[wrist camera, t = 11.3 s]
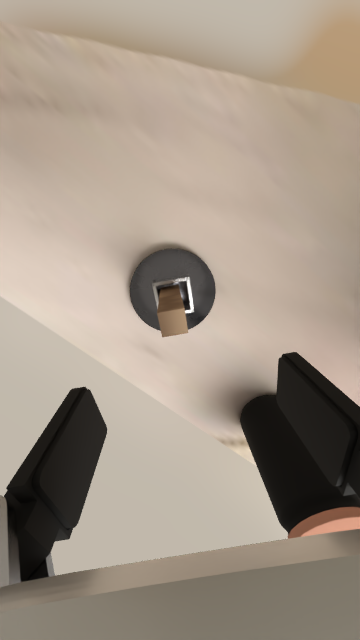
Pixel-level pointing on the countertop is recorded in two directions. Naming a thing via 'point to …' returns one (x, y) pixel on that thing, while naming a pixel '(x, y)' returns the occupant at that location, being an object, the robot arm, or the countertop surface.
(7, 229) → the countertop surface
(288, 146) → the countertop surface
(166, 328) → the tan wooden beam
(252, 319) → the countertop surface
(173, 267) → the round metal socket base
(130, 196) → the countertop surface
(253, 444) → the coffee jar
